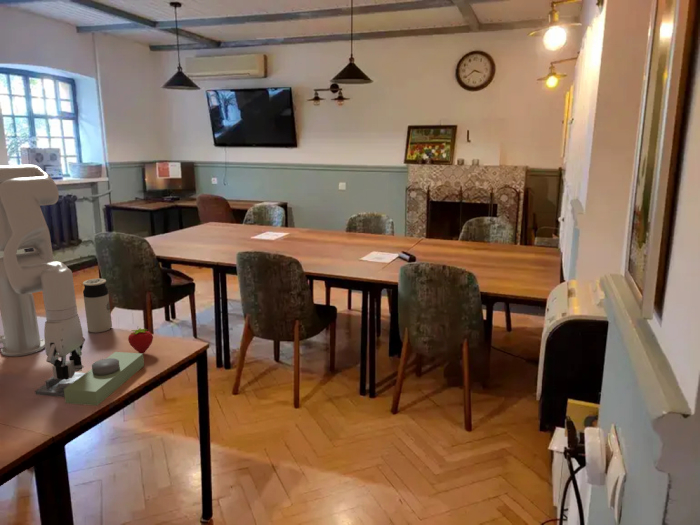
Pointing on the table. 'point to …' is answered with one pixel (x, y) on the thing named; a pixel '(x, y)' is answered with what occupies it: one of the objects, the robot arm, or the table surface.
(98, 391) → the green slab with knob
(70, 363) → the usb wall charger
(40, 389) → the grey plate with ledge
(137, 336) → the strawberry
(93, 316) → the travel mug
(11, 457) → the table surface
